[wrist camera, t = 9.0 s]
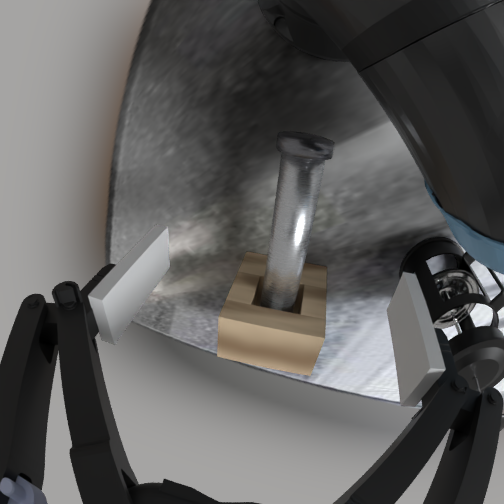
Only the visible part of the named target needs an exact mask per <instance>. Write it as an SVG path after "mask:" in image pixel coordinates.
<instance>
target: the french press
mask: <svg viewBox="0 0 504 504" xmlns="http://www.w3.org/2000/svg"><path fill="white" fill-rule="evenodd" d="M442 254H453V255H454V256H455V257H456V260H457V269H447V270H443V271H440V272H438V273H436V274H434V275H432V273H431V271H430V269H429V267H428V265H427V263H426V260H428V259H430V258H432V257H435V256H437V255H442ZM474 261H475V259H474V258H473V257H471V256H470V255H469V254H468V253H467V252H465V253H464V252H463V250H462V249H461V247H460V246H459V245H458V244H457V243H456V242H454V241H453V240H451V239H448V238H444V237H435V238H430V239H427V240H424V241H422V242H420V243H418V244H417V245H416V246H414V247H413V248H412V249H411V250H410V251H409V252H408V253H407V255H406V256H405V258H404V260H403V262H402V264H401V267H400V273H399V275H400V279H401V276H402V274H403V272H406V273H411V274H413V273H414V272H415V274H416V276H417V279H418V282H419V284H420V288H421V291H422V294H423V296H424V299H425V302H426V305H427V308H428V311H429V314H430V317H431V320H432V323H433V326H434V328H440V329H444V328H448V327H451V326H453V325H455V327H456V329H457V332H458V335H456V336H455V337H453V338H452V339H450V340H449V341H448V342H449V346H450V349H451V353H452V355H453V359H454V362H455V365H456V369H457V373H458V375H460V376H462V377H463V378H464V379H465V380H466V381H467V382H468V384H469V388H470V389H472V390H475V391H478V392H480V393H482V392H483V391H484V390H485V389H486V388H487V387H492V388H493V387H494V386H495V385H496V384H498V383H499V382H500V381H501V380H502V379H503V378H504V336H503V334H502V332H501V331H500V330H499V329H497V328H498V324H499V318H498V313H497V312H498V311H499V310H500V309H501V308H502V307H504V287H503V285H502V283H501V282H500V280H499V279H498V277H497V276H496V274H495V273H494V271H493V270H492V269H490V268H488V267H487V269H488V270H489V272H490V273H491V275H492V276H493V278H494V279H495V281H496V283H497V284H498V286H499V287H500V289H501V292H500V293H499V294H498V295H497V296H496V297H495V298H494V299H493V300H490V298H489V297H488V295H487V293H486V291H485V290H484V288H483V286H482V284H481V283H480V281H479V279H478V278H477V276H476V274H475V273H474V271H473V269H472V268H471V266H470V264H471V263H473V262H474ZM479 287H480V289H481V291H482V293H483V295H482V294H479ZM476 303H480V304H485V305H487V306H489V307H491V308H492V309H493V319H492V323H491V325H490V326H480V327H475V325H474V323H473V321H472V318H471V316H470V312H471V311H472V310H473V308H474V307H475V305H476ZM458 323H459V325H460V328H461V330H462V333H461V331H460V328H459V325H458ZM503 428H504V414H502V418H501V426H500V431H501V430H502V429H503Z"/></svg>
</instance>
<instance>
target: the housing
mask: <svg viewBox="0 0 504 504" xmlns="http://www.w3.org/2000/svg"><path fill="white" fill-rule="evenodd" d="M266 262H267V255H263V254H258V253H252V252H246V254H245V257H244V259H243V261H242V264H241V266H240V268H239V271H238V273H237V275H236V278H235V280H234V282H233V284H232V287H231V289H230V291H229V294H228V296H227V298H226V301H225V303H224V305H223V308H222V310H221V312H220V315H219V323H218V353H217V356H218V357H222V358H226V359H230V360H234V361H239V362H243V363H248V364H252V365H257V366H262V367H266V368H271V369H276V370H281V371H287V372H292V373H298V374H303V375H309V376H310V375H311V373H312V370H313V368H314V365H315V363H316V360H317V358H318V355H319V352H320V350H321V347H322V345H323V342H324V339H325V326H326V293H327V267H325V266H320V265H314V264H309V263H304V267H303V271H302V276H301V280H300V284H299V289H298V293H297V297H296V301H295V305H294V309H293V313H290V312H285V311H280V310H275V309H270V308H265V307H260V302H261V295H262V289H263V282H264V275H265V269H266Z"/></svg>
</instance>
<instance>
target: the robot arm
mask: <svg viewBox="0 0 504 504" xmlns="http://www.w3.org/2000/svg"><path fill="white" fill-rule="evenodd" d="M258 3H259V6H260V8H261V11H262V13H263V15H264V16H265V18H266V20H267V21H268V22H269V24H270V25H271V26H272V27H273V29H274V30H275V31H276V32H277V33H278V34H279V35H280V36H281V37H282V38H283V39H284V40H286V41H287V42H288V43H290V44H291V45H292V46H294V47H296V48H297V49H299V50H301V51H303V52H305V53H307V54H310V55H312V56H315V57H319V58H322V59H327V60H333V61H350V62H351V63H352V65H353V66H354V67H355V68H356V70H357V73H358V74H359V75H360V77H361V78H362V79H363V81H364V82H365V84H366V85H367V86H368V88H369V89H370V90H371V92H372V93H373V95H374V96H375V98H376V99H377V100H378V102H379V103H380V105H381V106H382V108H383V109H384V111H385V112H386V114H387V115H388V117H389V118H390V120H391V122H392V123H393V125H394V126H395V128H396V130H397V131H398V133H399V134H400V136H401V138H402V139H403V141H404V143H405V144H406V146H407V148H408V150H409V151H410V153H411V155H412V157H413V158H414V160H415V162H416V164H417V166H418V167H419V169H420V171H421V173H422V175H423V177H424V179H425V187H426V189H427V191H428V193H429V195H430V197H431V199H432V201H433V202H434V204H435V205H436V207H437V208H438V209H439V210H440V211H441V212H442V214H443V215H444V217H445V219H446V221H447V223H448V225H449V227H450V229H451V231H452V233H453V235H454V237H455V238H456V240H457V241H458V243H459V244H460V245H461V246H462V247H463V248H464V249H465V250H466V252H467V253H468V254H469V255H470V256H471V257H473V258H474V259H475V260H477V261H478V262H479V263H481V264H483V265H484V266H486V267H488V268H490V269H492V270H494V271H496V272H499V273H501V274H504V0H258ZM169 268H170V258H169V238H168V227H167V226H162V225H157V224H156V225H155V226H154V227H153V228H152V229H151V230H150V231H149V232H148V233H147V234H146V235H145V236H144V237H143V238H142V239H141V240H140V241H139V242H138V243H137V244H136V245H135V246H134V247H133V248H132V249H131V250H130V251H129V252H128V253H127V254H126V255H125V256H124V257H123V258H122V259H121V260H120V261H119V262H118V263H117V265H115V264H109V265H107V266H105V267H103V268H102V269H101V270H100V271H99V272H98V273H97V275H95V276H94V277H93V278H92V280H90V281H89V283H87V285H86V286H85V287H84V288H83V289H82V290H81V291H80V290H79V287H78V284H76V283H75V282H72V281H65V282H62V283H60V284H58V285H56V286H55V287H54V289H53V291H52V295H53V298H54V301H55V303H46V301H45V298H44V296H43V295H41V294H32V295H30V296H28V297H26V298H25V299H24V300H23V302H22V304H21V306H20V309H19V311H18V314H17V316H16V319H15V322H14V324H13V327H12V330H11V333H10V336H9V338H8V341H7V344H6V347H5V351H4V354H3V357H2V360H1V364H0V504H47V501H46V497H45V495H44V493H43V492H42V491H41V490H42V485H43V480H44V468H45V447H46V433H47V422H48V413H49V405H50V397H51V390H52V384H53V378H54V372H55V366H56V360H57V355H58V350H59V360H60V370H61V380H62V388H63V395H64V401H65V408H66V414H67V420H68V426H69V430H70V435H71V440H72V448H71V449H70V458H71V463H72V467H73V471H74V474H75V478H76V482H77V485H78V489H79V492H80V495H81V499H82V502H83V504H259V503H253V502H240V503H238V502H237V503H236V502H235V503H231V502H229V503H228V502H226V503H225V502H218V501H216V500H214V499H212V498H210V497H208V496H206V495H204V494H202V493H201V492H199V491H197V490H195V489H193V488H191V487H188V486H185V485H182V484H179V483H175V482H173V481H170V480H167V479H164V480H163V483H144V484H138V481H137V479H136V477H135V475H134V473H133V471H132V469H131V467H130V464H129V462H128V459H127V456H126V453H125V451H124V448H123V445H122V442H121V439H120V436H119V432H118V429H117V426H116V422H115V419H114V415H113V412H112V408H111V405H110V401H109V397H108V393H107V389H106V385H105V382H104V377H103V372H102V368H101V363H100V358H99V353H98V348H97V343H96V340H95V336H96V335H97V333H98V332H99V334H100V337H101V340H103V341H105V342H108V343H111V344H113V345H115V344H116V342H117V341H118V339H119V338H120V337H121V335H122V334H123V332H124V331H125V329H126V328H127V327H128V325H129V324H130V322H131V321H132V319H133V318H134V316H135V315H136V314H137V312H138V311H139V309H140V308H141V307H142V305H143V304H144V302H145V301H146V300H147V298H148V297H149V295H150V294H151V293H152V291H153V290H154V288H155V287H156V286H157V284H158V283H159V281H160V280H161V279H162V277H163V276H164V275H165V273H166V272H167V271H168V269H169ZM387 314H388V320H389V325H390V331H391V337H392V343H393V349H394V356H395V362H396V370H397V377H398V385H399V394H400V404H401V406H410V407H415V406H416V405H417V404H418V403H419V402H420V401H421V400H422V406H423V407H422V408H421V409H420V410H419V411H418V412H417V413H416V414H415V415H414V417H412V420H411V422H410V423H409V424H408V426H407V427H406V428H405V429H404V430H403V432H402V433H401V434H400V435H399V436H398V438H397V439H396V440H395V441H394V442H393V443H392V445H391V446H390V447H389V448H388V449H387V450H386V452H385V453H384V454H383V455H382V456H381V457H380V458H379V459H378V460H377V461H376V463H374V465H373V466H372V467H371V468H370V469H369V470H368V471H367V472H366V473H365V474H364V475H363V476H362V477H361V478H360V479H359V480H358V481H357V482H356V483H355V484H354V485H353V486H352V487H351V488H349V489H348V490H347V491H346V492H345V493H344V494H343V495H342V496H341V497H340V498H339V499H338V500H337V501H335V502H334V503H333V504H395V502H396V501H397V500H398V499H399V498H400V497H401V495H402V494H403V493H404V492H405V490H406V489H407V488H408V487H409V486H410V484H411V483H412V482H413V480H414V479H415V478H416V477H417V475H418V474H419V472H420V471H421V470H422V468H423V467H424V466H425V464H426V463H427V462H428V460H429V459H430V457H431V456H432V454H433V453H434V451H435V450H436V448H437V447H438V445H439V444H440V442H441V441H442V439H443V438H444V436H445V434H446V433H447V431H448V430H449V429H451V430H450V433H449V436H448V440H447V443H446V447H445V449H444V452H443V455H442V458H441V461H440V463H439V466H438V469H437V471H436V474H435V477H434V479H433V481H432V484H431V486H430V489H429V491H428V493H427V496H426V498H425V500H424V502H423V504H483V501H484V498H485V495H486V491H487V488H488V484H489V480H490V477H491V472H492V468H493V464H494V459H495V454H496V449H497V444H498V438H499V432H500V426H501V418H502V410H503V398H502V395H501V394H500V392H499V391H498V390H496V389H495V388H492V387H487V388H486V389H485V390H484V391H483V392H482V393H480V392H478V391H475V390H472V389H470V388H469V384H468V382H467V381H466V380H465V379H464V378H463V377H462V376H460V375H458V373H457V369H456V365H455V362H454V359H453V355H452V353H451V349H450V346H449V342H448V339H447V336H446V335H445V334H444V332H443V331H442V329H440V328H434V326H433V323H432V320H431V317H430V314H429V311H428V308H427V305H426V302H425V299H424V296H423V294H422V291H421V288H420V285H419V283H418V280H417V277H416V275H415V274H411V273H406V272H403V274H402V276H401V279H400V281H399V284H398V286H397V288H396V290H395V293H394V295H393V297H392V300H391V302H390V304H389V306H388V308H387Z"/></svg>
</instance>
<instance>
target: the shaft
mask: <svg viewBox="0 0 504 504" xmlns="http://www.w3.org/2000/svg"><path fill="white" fill-rule="evenodd" d="M276 149H277V150H279V151H280V152H282V155H281V162H280V170H279V177H278V185H277V192H276V199H275V206H274V213H273V220H272V227H271V234H270V241H269V248H268V255H267V262H266V269H265V275H264V282H263V289H262V295H261V302H260V307H265V308H270V309H275V310H280V311H285V312H290V313H293V309H294V305H295V301H296V297H297V293H298V289H299V284H300V280H301V276H302V271H303V267H304V263H305V258H306V254H307V249H308V244H309V240H310V235H311V230H312V226H313V221H314V216H315V211H316V206H317V201H318V196H319V191H320V186H321V180H322V175H323V170H324V164H325V160H328V159H331V158H332V154H333V149H334V142H333V141H332V140H330V139H327V138H324V137H321V136H317V135H313V134H308V133H302V132H291V131H284V132H279V133H278V138H277V146H276Z"/></svg>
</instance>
